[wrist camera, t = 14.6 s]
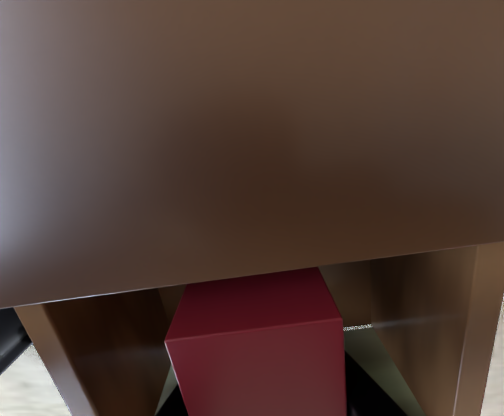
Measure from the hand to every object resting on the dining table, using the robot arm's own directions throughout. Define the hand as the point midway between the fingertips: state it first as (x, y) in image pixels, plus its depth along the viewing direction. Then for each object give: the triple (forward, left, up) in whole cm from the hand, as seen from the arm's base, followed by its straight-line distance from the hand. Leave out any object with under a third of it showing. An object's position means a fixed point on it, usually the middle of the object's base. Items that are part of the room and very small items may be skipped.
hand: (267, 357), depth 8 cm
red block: (0, 0, -1) cm, 1 cm away
